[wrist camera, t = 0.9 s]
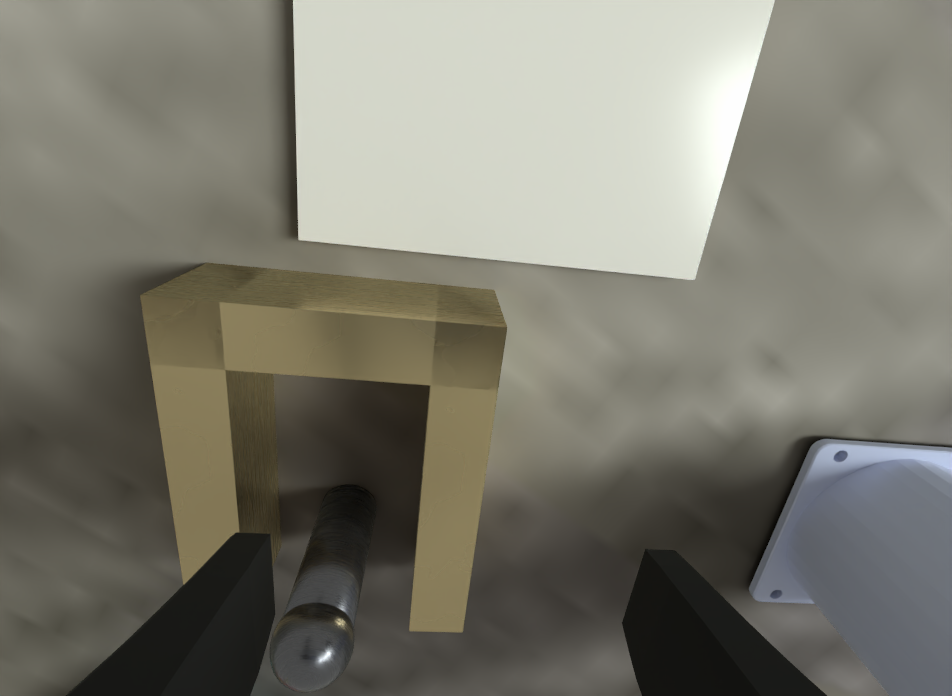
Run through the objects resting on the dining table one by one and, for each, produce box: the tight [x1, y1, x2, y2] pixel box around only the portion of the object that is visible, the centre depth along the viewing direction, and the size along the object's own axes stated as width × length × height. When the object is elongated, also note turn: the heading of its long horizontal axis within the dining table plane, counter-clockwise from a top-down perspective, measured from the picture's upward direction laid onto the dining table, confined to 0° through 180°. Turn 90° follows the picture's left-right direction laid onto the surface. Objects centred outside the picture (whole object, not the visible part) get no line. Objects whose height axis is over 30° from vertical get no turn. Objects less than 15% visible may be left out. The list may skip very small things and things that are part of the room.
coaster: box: [293, 0, 775, 280], centre depth 13 cm, size 12×12×1 cm
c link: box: [140, 263, 507, 632], centre depth 16 cm, size 9×11×4 cm
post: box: [270, 485, 376, 693], centre depth 15 cm, size 2×2×7 cm
